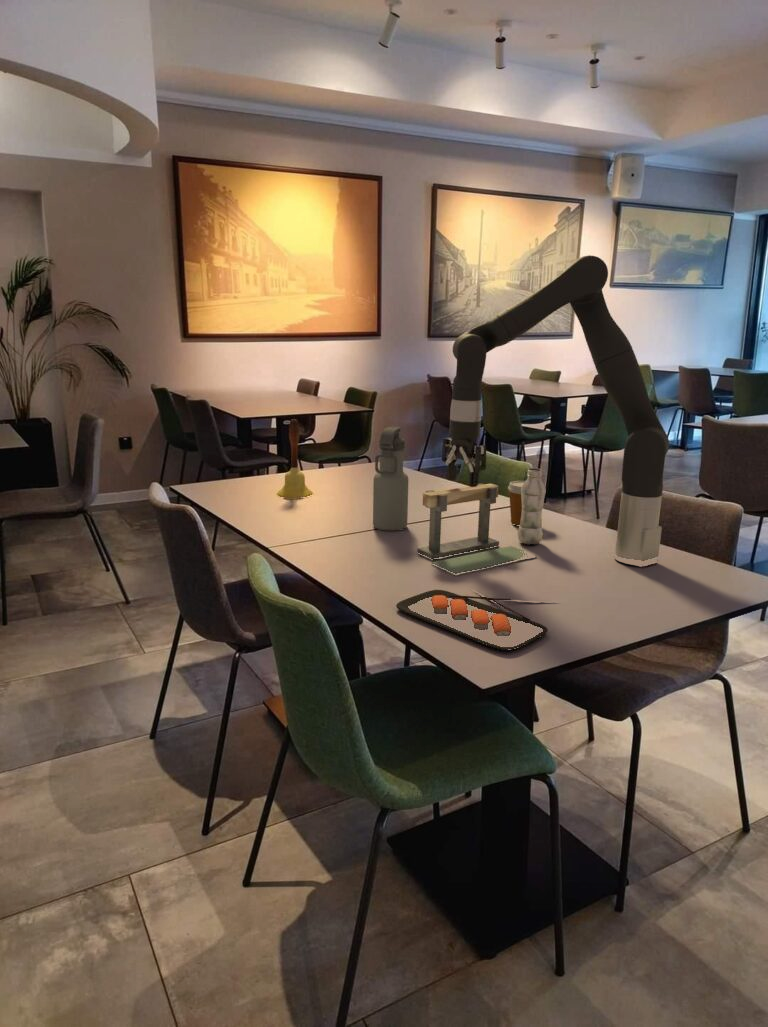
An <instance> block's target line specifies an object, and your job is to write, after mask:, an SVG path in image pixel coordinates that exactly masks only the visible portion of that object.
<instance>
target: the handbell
mask: <svg viewBox="0 0 768 1027" xmlns="http://www.w3.org/2000/svg"><path fill="white" fill-rule="evenodd" d="M288 438H289V439H288V440H289V443H290V452H291V453H290V454H291V455H290V456H291V457H290V459H291V462H290V463H291V464H290V465H291V468H290V470H289V471H287V472H286V473H285V475H284V485H283V486H282V488H281V489H279V490H278V491H277V492H276V496H277V495H278V496H280V497H279V498H281V497H285V498H284V499H289V498H299V499H302V498H301V497H307V496H310V495H312V494H313V495H314V492H313V491H312V490H311V489H309V487H307V485H306V480H305V479H306V477H305V474H304V472H303V471H300V469H299V464H298V463H299V456H298V454H299V453H298V450H299V449H298V447H299V441H300V426H299V421H298V420H297V419H294V418H293V419H290V422H289V427H288ZM278 496H277V497H278ZM307 498H308V497H307Z"/></svg>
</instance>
